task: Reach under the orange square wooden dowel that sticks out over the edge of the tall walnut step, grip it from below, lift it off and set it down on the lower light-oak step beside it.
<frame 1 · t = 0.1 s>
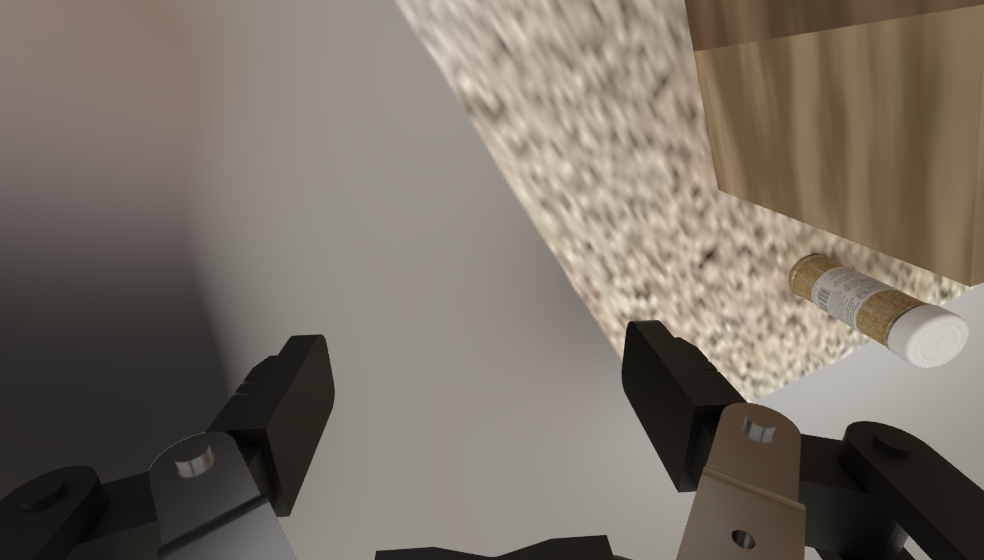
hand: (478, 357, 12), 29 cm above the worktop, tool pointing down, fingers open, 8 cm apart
sprinkles bottle: (807, 273, 45), on the worktop
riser: (797, 8, 36), on the worktop
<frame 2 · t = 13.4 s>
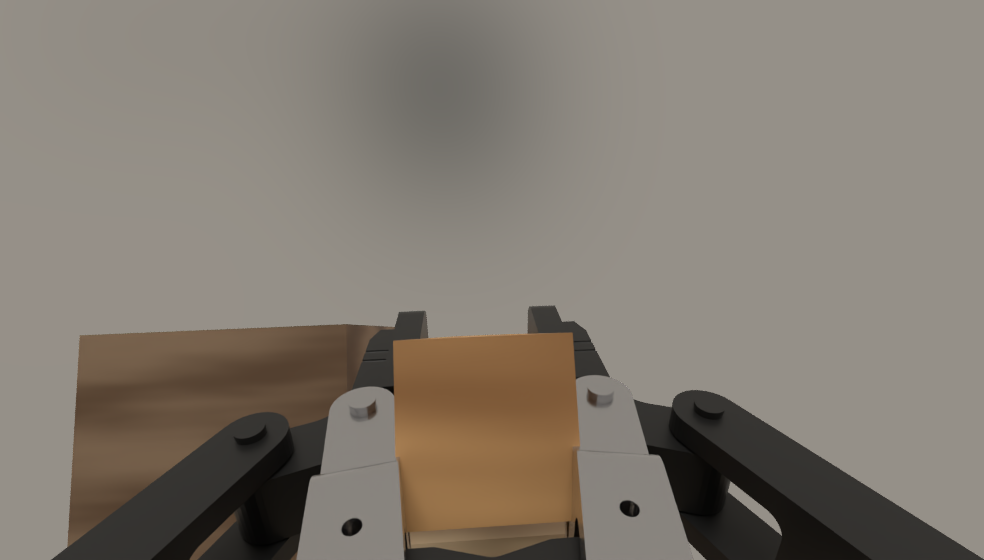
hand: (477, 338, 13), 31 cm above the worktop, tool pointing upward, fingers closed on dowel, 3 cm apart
dowel: (478, 403, 20), point 28 cm above the worktop, touching gripper
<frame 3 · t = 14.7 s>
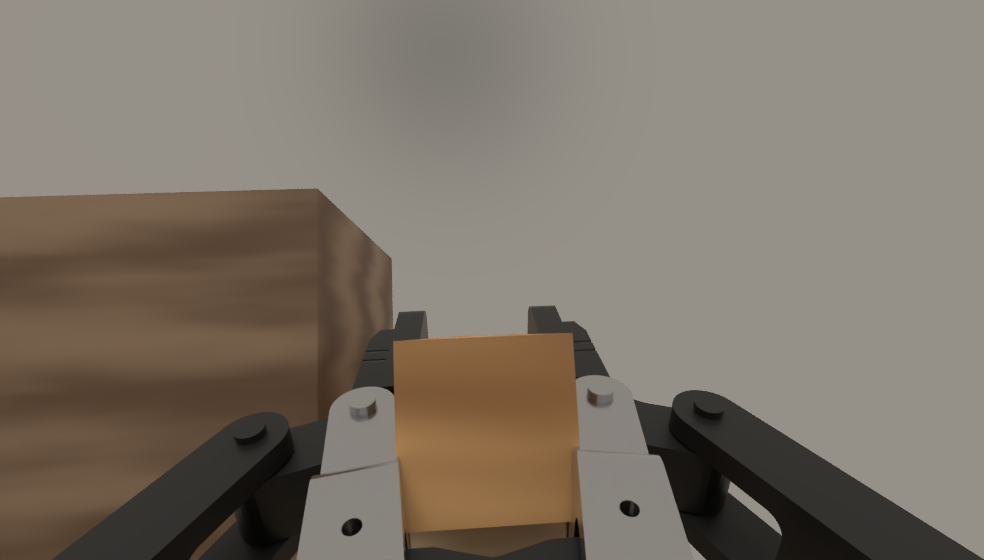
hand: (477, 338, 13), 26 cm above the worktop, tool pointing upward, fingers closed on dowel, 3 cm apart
dowel: (478, 403, 20), point 23 cm above the worktop, touching gripper
when the fingers open (26 cm above the worktop, at t = 15.0 s): dowel stays where it is, resting on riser.
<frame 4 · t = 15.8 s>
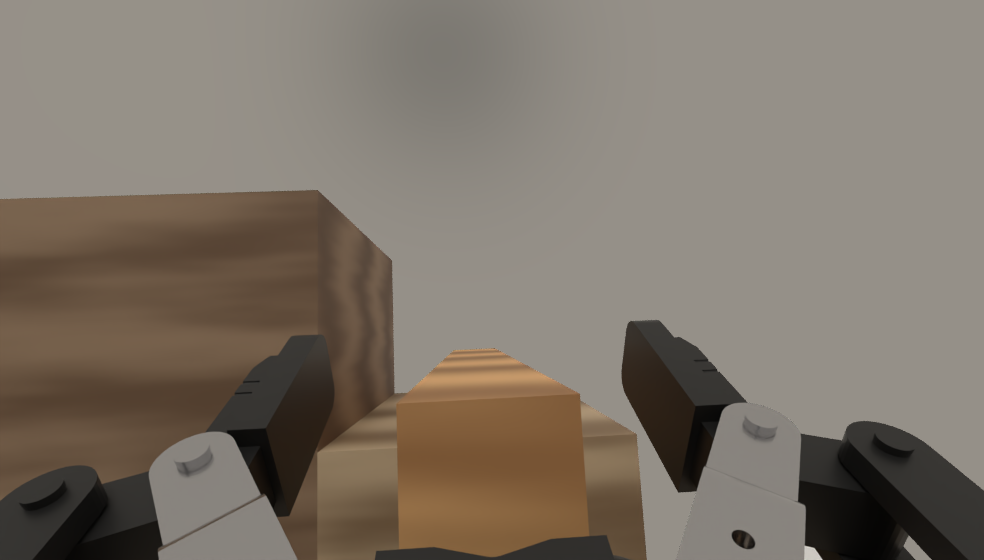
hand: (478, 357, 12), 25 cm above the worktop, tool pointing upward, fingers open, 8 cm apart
dowel: (479, 427, 20), point 22 cm above the worktop, touching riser
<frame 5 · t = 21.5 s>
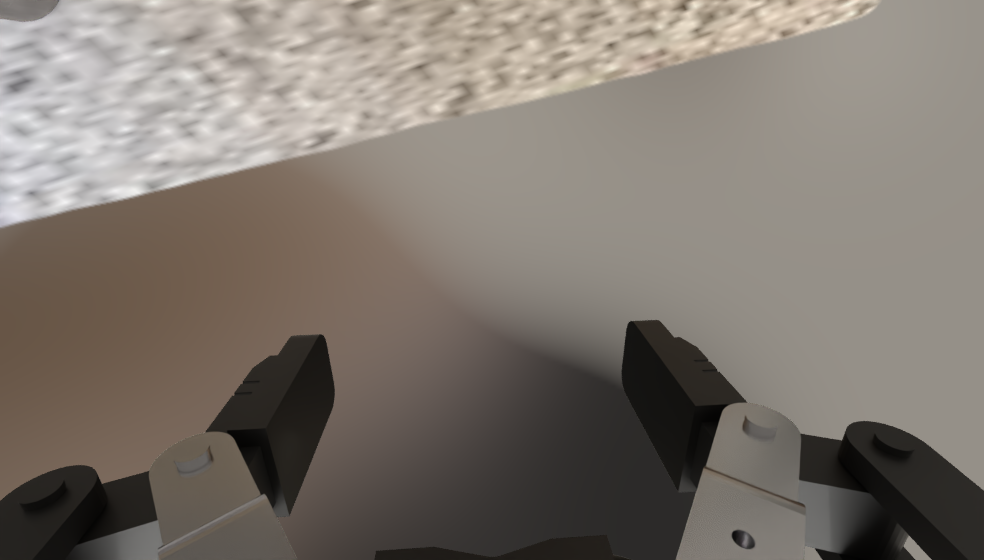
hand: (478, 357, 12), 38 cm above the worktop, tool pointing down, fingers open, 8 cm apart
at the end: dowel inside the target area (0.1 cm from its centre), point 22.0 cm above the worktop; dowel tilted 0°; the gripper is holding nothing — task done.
